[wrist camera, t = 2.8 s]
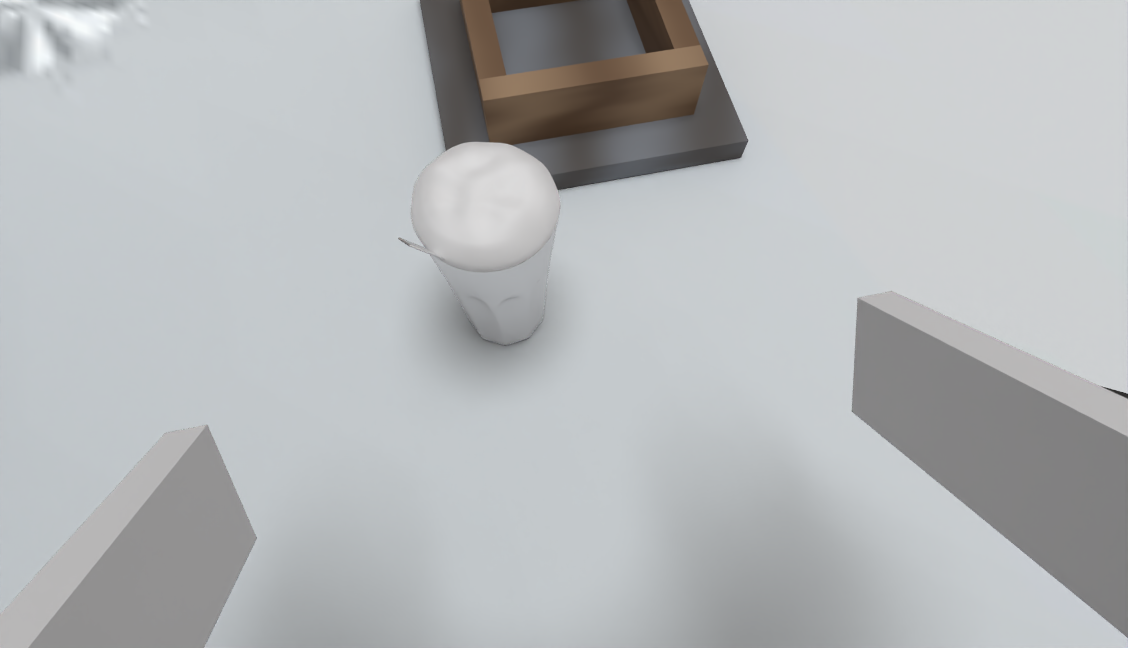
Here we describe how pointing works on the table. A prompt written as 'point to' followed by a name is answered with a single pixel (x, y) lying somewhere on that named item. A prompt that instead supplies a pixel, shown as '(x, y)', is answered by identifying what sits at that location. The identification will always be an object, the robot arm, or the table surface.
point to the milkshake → (489, 233)
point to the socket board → (582, 84)
